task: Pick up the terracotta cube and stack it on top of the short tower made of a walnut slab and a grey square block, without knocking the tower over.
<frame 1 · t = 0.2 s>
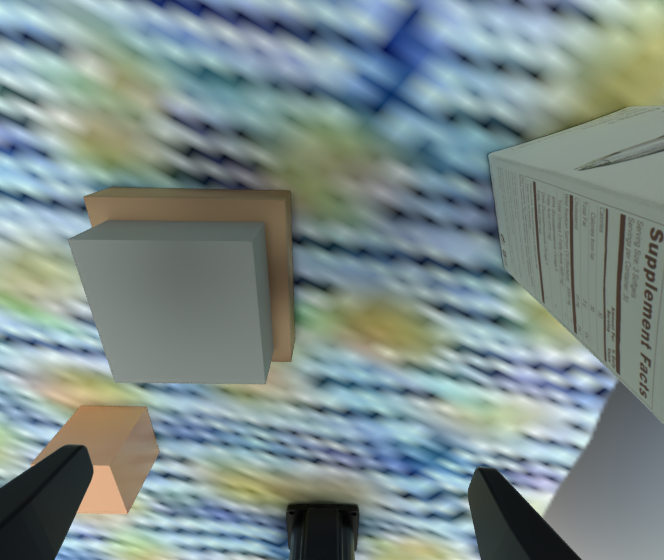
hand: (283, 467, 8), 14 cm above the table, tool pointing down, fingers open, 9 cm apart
supplement box: (556, 194, 20), on the table
grey square block: (198, 290, 20), point 2 cm above the table, touching walnut slab
terracotta cube: (122, 429, 28), on the table
walnut slab: (215, 266, 22), on the table, touching grey square block
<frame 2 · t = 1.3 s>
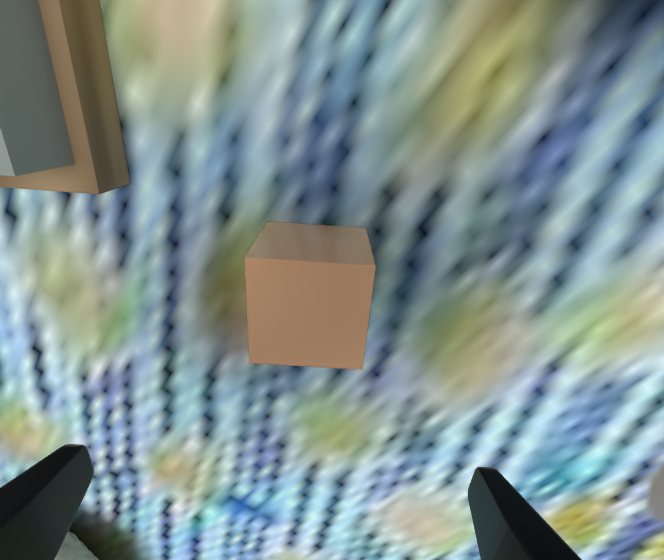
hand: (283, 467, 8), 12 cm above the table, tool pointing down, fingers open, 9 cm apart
decorative shell: (47, 548, 31), on the table
terracotta cube: (314, 269, 19), on the table
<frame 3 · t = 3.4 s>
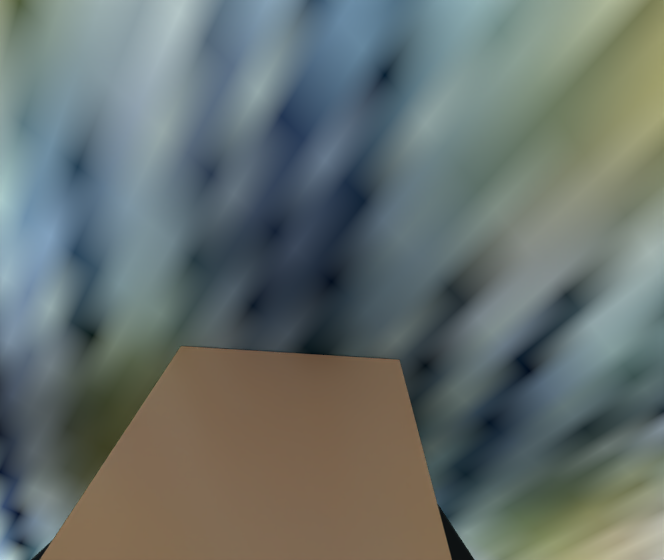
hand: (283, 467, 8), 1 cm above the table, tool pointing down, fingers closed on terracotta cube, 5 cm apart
terracotta cube: (288, 431, 9), on the table, touching gripper
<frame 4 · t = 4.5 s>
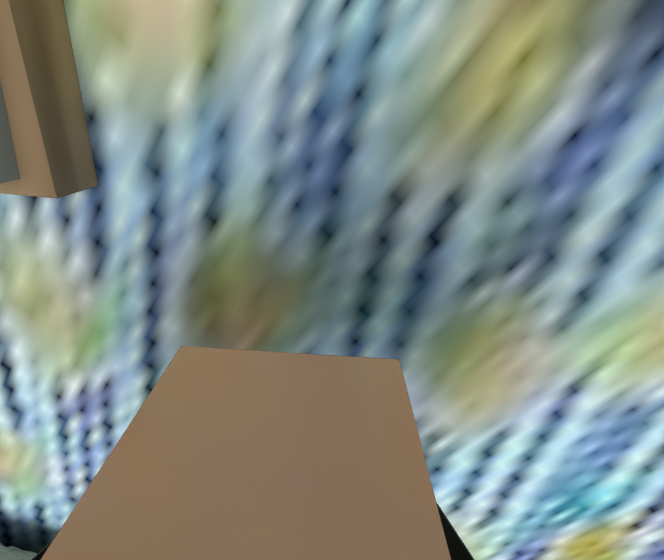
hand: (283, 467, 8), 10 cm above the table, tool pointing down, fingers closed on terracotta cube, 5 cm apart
terracotta cube: (288, 431, 9), point 9 cm above the table, touching gripper
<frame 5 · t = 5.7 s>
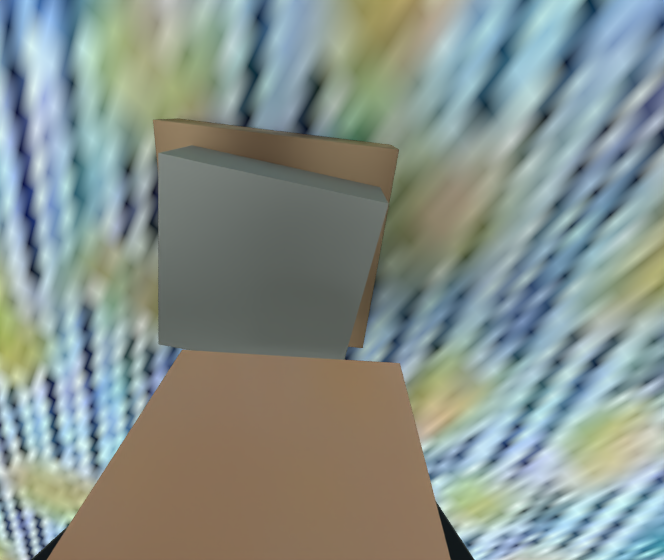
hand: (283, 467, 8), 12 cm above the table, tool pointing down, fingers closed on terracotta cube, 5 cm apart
grey square block: (274, 253, 17), point 2 cm above the table, touching walnut slab
terracotta cube: (289, 434, 9), point 11 cm above the table, touching gripper
walnut slab: (281, 230, 19), on the table, touching grey square block
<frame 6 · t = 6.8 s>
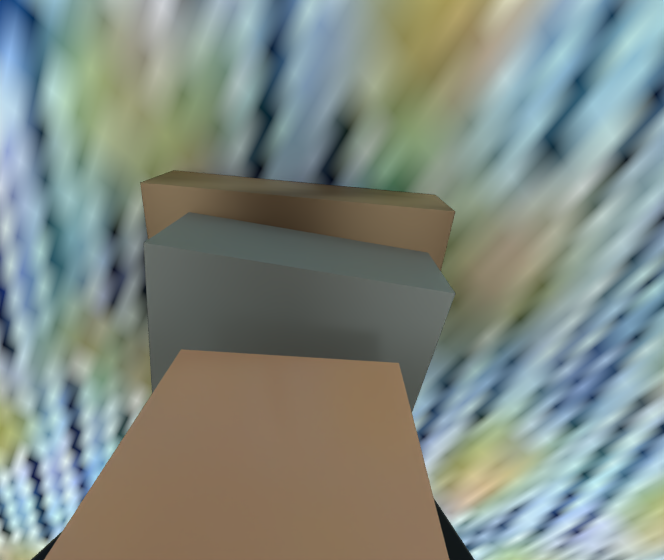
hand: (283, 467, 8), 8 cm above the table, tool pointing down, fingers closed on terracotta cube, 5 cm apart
grey square block: (295, 332, 13), point 2 cm above the table, touching walnut slab
terracotta cube: (288, 434, 9), point 7 cm above the table, touching gripper
walnut slab: (300, 292, 16), on the table, touching grey square block
when the fingers open (8 cm above the table, at t = 7.6 s): terracotta cube drops 2 cm, resting on grey square block.
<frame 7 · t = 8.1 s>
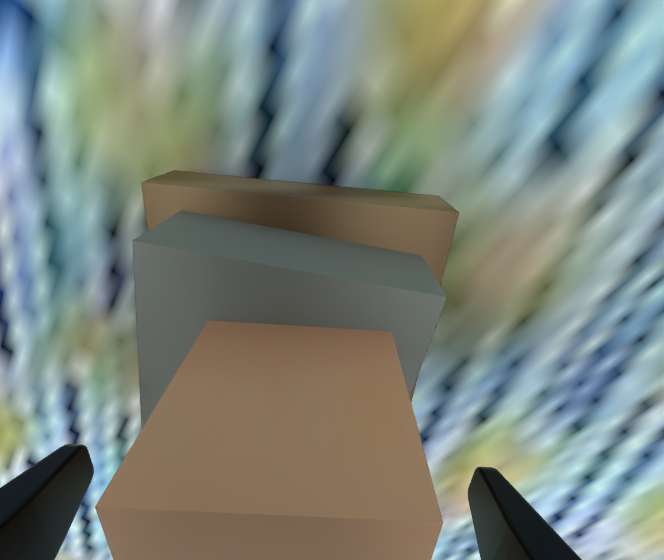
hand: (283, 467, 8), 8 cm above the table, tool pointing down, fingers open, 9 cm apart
grey square block: (287, 333, 13), point 2 cm above the table, touching terracotta cube, walnut slab
terracotta cube: (297, 395, 11), point 5 cm above the table, touching grey square block
walnut slab: (301, 293, 16), on the table, touching grey square block
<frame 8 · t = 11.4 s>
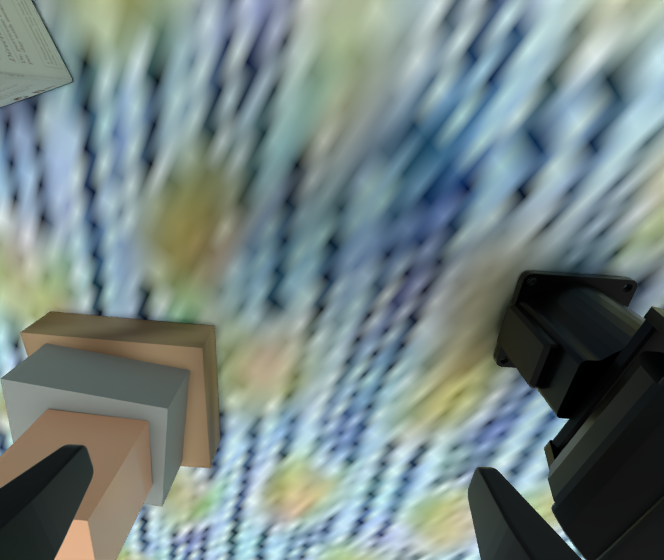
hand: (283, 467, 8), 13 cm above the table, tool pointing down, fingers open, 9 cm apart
grey square block: (120, 407, 22), point 2 cm above the table, touching walnut slab
terracotta cube: (103, 449, 19), point 5 cm above the table
walnut slab: (148, 375, 25), on the table, touching grey square block
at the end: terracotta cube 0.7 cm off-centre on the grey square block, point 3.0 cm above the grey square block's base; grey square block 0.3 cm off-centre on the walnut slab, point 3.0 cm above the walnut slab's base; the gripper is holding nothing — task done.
